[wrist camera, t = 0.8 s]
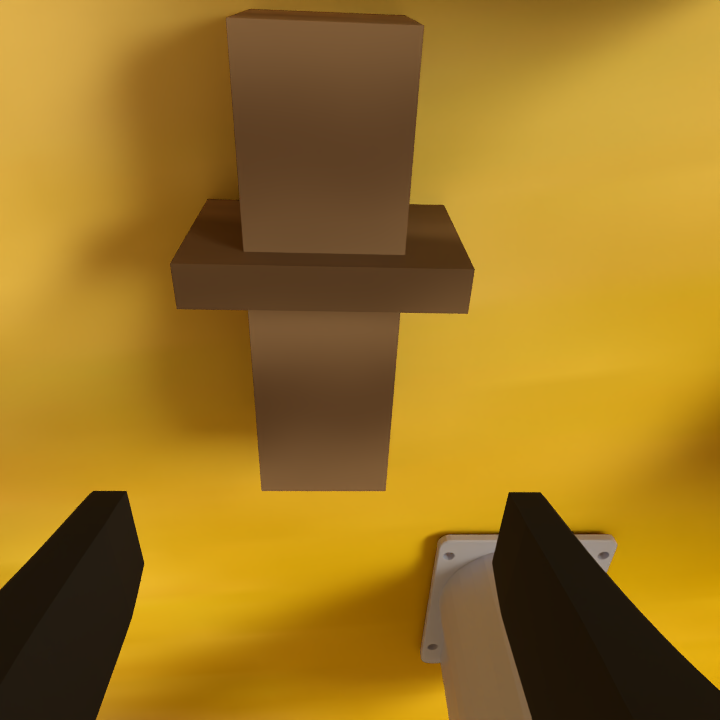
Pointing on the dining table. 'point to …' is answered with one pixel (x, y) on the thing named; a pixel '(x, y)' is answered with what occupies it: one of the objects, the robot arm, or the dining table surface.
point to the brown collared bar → (323, 237)
